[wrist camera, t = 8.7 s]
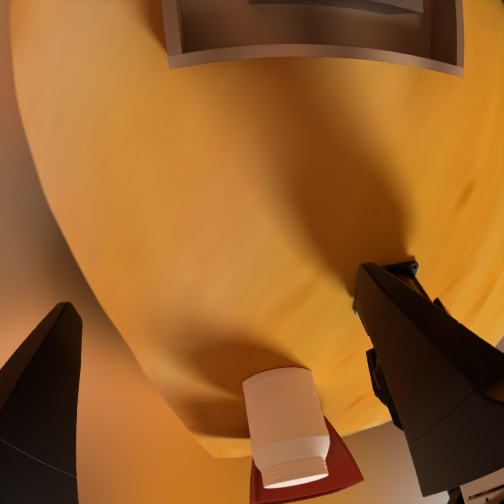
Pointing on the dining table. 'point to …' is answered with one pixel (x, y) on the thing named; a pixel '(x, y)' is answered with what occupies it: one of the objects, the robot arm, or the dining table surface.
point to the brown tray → (313, 33)
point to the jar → (286, 427)
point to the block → (359, 5)
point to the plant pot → (339, 477)
